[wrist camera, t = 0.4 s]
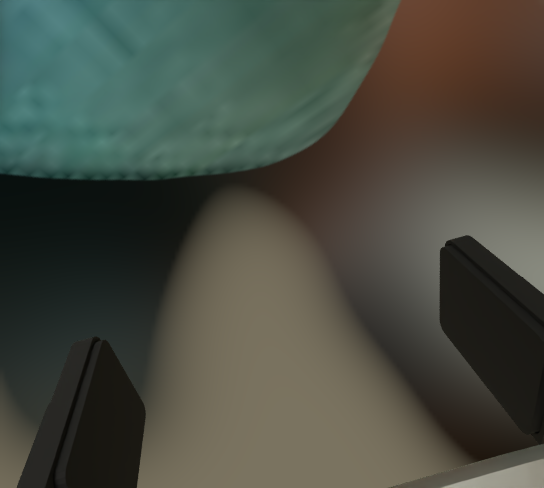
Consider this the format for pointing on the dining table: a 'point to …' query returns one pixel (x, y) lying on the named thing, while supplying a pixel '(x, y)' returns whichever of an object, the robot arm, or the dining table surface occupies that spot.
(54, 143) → the dining table surface
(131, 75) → the dining table surface
